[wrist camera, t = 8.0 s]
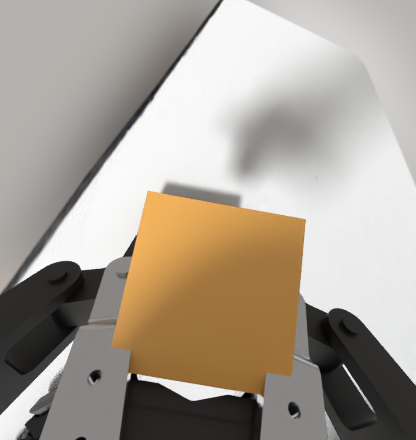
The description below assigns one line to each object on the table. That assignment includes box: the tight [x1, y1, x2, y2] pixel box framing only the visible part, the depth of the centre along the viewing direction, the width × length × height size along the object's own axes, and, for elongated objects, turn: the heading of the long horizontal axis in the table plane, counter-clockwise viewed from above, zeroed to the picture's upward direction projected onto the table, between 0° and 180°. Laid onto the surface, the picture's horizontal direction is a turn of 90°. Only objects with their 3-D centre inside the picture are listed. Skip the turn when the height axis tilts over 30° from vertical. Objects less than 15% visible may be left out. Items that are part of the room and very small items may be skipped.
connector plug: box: [111, 191, 306, 395], centre depth 9 cm, size 4×4×10 cm
